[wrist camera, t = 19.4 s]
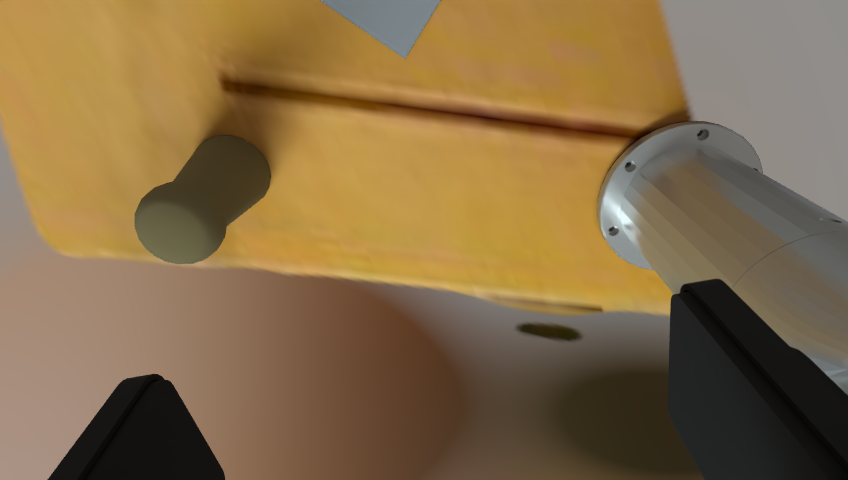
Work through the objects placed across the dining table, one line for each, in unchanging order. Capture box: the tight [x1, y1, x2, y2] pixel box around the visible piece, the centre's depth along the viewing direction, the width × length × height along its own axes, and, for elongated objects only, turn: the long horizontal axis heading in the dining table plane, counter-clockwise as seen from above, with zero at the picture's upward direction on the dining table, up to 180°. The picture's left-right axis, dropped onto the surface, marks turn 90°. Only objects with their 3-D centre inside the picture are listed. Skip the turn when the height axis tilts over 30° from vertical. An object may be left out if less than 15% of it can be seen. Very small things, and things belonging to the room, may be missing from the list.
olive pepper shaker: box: [135, 135, 271, 264], centre depth 34 cm, size 6×6×11 cm
